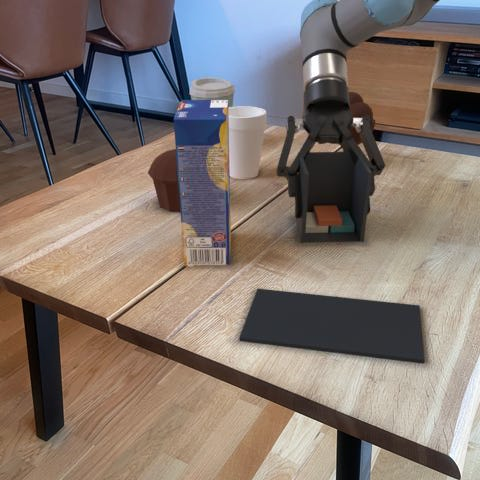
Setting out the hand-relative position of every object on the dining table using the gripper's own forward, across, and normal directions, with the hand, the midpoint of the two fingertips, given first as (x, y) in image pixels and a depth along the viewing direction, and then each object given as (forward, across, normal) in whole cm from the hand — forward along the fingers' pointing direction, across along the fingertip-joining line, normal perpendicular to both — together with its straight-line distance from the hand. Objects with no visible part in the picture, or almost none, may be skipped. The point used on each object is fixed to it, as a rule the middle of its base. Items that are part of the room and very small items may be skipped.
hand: (332, 214), depth 89 cm
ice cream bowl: (-23, -9, -30) cm, 39 cm away
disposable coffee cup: (-33, +20, -40) cm, 56 cm away
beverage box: (+6, +20, -1) cm, 21 cm away
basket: (+1, 0, -5) cm, 5 cm away
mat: (+21, +4, +14) cm, 26 cm away
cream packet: (0, +2, -6) cm, 6 cm away
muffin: (-8, +26, -15) cm, 31 cm away
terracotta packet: (-1, 0, -5) cm, 5 cm away
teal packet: (0, -2, -6) cm, 6 cm away
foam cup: (-19, +14, -26) cm, 35 cm away
